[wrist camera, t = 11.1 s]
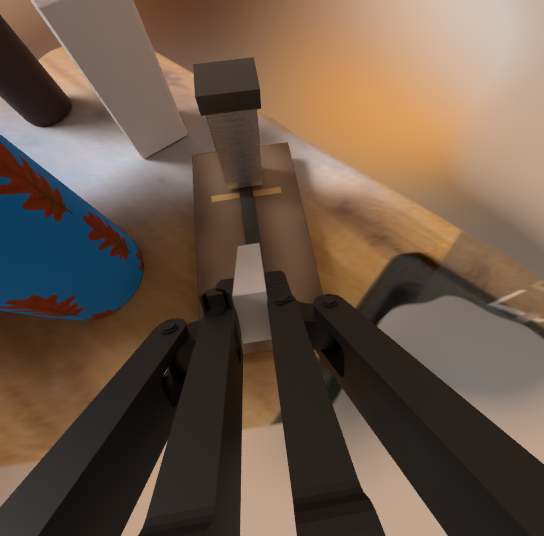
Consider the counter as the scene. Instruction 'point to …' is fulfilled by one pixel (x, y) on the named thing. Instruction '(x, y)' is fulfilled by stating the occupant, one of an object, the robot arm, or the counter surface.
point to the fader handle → (232, 117)
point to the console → (253, 226)
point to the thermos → (58, 247)
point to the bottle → (28, 82)
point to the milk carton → (118, 67)
